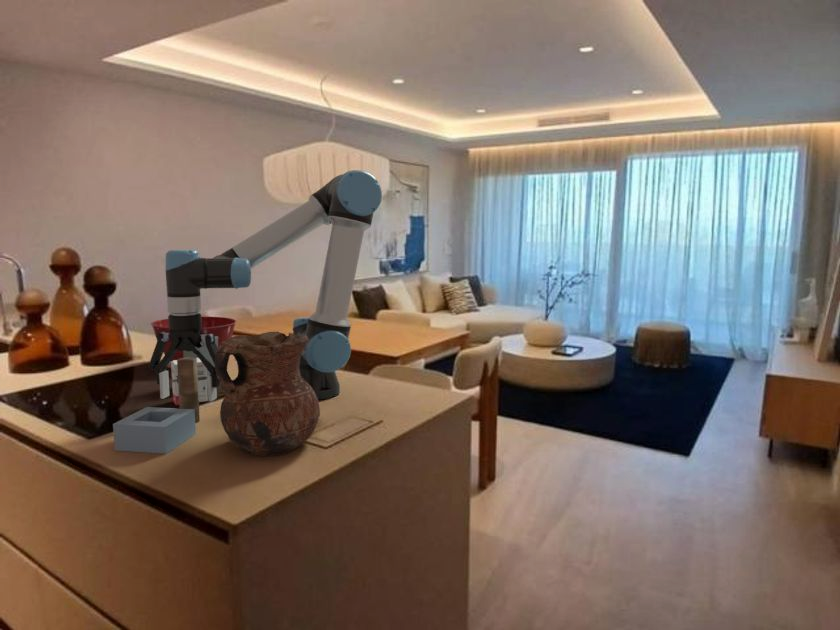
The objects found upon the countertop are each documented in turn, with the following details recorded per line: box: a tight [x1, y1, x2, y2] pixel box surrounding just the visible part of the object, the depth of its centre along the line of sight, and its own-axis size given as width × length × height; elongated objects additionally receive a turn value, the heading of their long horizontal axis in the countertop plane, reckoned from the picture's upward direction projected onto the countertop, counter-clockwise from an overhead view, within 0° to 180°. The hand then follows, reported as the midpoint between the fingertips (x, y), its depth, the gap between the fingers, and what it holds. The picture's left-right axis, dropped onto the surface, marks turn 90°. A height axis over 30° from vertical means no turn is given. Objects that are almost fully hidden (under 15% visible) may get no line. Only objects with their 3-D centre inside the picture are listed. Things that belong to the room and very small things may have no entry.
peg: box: [177, 357, 201, 424], centre depth 137 cm, size 4×4×16 cm
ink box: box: [170, 358, 209, 406], centre depth 153 cm, size 8×5×12 cm, turn 123°
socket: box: [112, 406, 197, 455], centre depth 124 cm, size 12×12×6 cm
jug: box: [215, 331, 321, 457], centre depth 121 cm, size 22×21×25 cm
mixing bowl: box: [150, 316, 237, 362], centre depth 198 cm, size 28×28×16 cm
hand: (188, 398), depth 137 cm, fingers open, 12 cm apart
